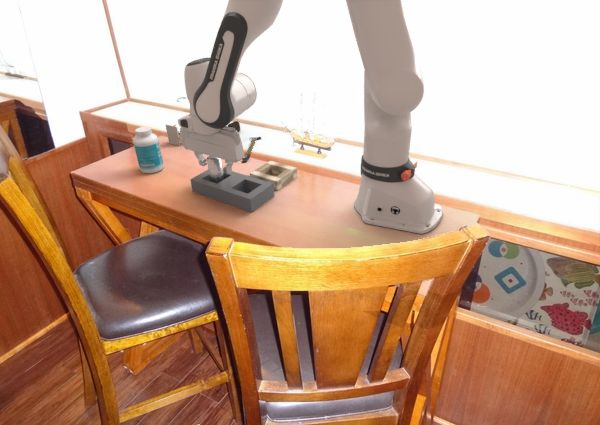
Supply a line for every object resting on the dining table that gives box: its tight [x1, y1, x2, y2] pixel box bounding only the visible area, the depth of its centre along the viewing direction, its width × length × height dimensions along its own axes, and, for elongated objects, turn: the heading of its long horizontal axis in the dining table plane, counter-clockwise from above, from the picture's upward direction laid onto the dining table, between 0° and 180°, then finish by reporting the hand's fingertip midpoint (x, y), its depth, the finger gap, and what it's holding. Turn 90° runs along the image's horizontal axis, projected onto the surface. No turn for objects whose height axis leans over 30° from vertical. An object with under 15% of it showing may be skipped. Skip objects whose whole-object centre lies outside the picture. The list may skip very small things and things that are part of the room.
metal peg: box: [206, 155, 224, 184], centre depth 124 cm, size 4×4×10 cm
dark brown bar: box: [227, 120, 241, 134], centre depth 157 cm, size 19×4×5 cm, turn 150°
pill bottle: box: [132, 126, 165, 174], centre depth 136 cm, size 8×7×14 cm
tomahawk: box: [241, 136, 262, 162], centre depth 150 cm, size 21×7×1 cm, turn 173°
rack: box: [189, 169, 275, 213], centre depth 123 cm, size 22×10×4 cm, turn 56°
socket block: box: [249, 160, 298, 191], centre depth 130 cm, size 10×10×3 cm
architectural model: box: [165, 124, 181, 147], centre depth 155 cm, size 3×7×7 cm, turn 57°
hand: (215, 168), depth 123 cm, fingers open, 8 cm apart
